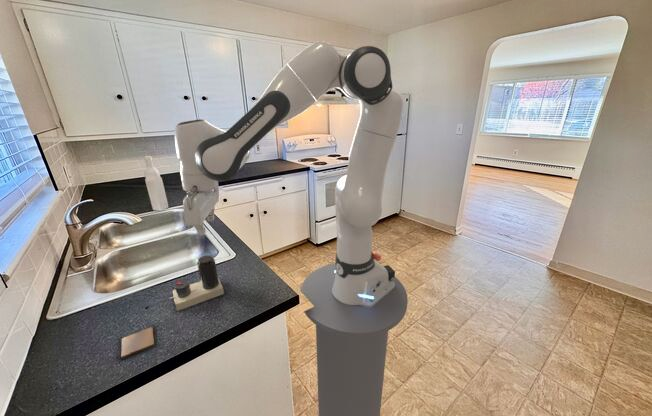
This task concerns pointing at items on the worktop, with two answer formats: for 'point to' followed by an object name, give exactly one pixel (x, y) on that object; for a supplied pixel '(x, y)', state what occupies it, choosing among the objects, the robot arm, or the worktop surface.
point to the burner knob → (182, 289)
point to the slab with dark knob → (196, 295)
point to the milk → (156, 192)
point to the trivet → (137, 342)
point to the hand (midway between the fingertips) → (206, 227)
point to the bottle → (150, 166)
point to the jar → (208, 272)
